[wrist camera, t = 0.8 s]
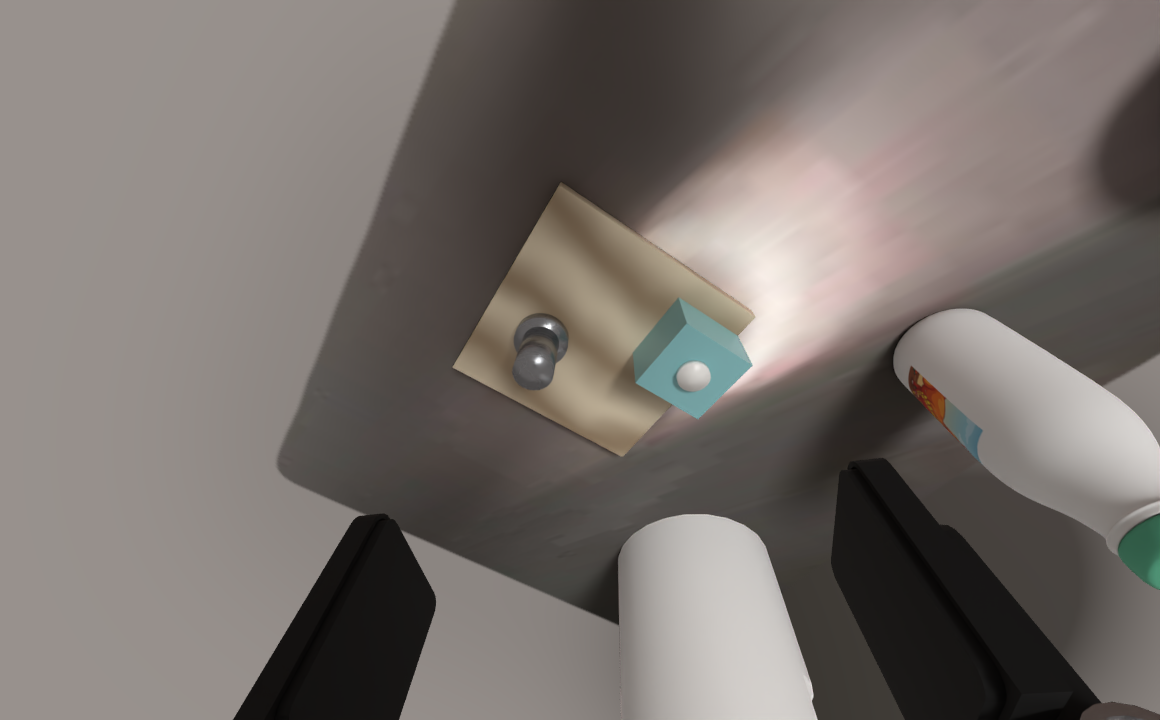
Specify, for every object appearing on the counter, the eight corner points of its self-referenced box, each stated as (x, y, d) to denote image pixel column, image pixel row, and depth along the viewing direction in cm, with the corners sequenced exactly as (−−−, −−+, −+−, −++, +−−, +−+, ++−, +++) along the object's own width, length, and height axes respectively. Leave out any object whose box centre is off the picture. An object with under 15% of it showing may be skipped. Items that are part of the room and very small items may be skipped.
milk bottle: (893, 315, 37) (1140, 520, 20) (1002, 296, 35) (1368, 497, 18) (885, 393, 41) (1086, 621, 24) (983, 378, 39) (1272, 607, 22)
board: (560, 181, 33) (559, 185, 32) (751, 310, 37) (755, 317, 36) (456, 360, 41) (452, 367, 40) (622, 448, 45) (622, 457, 44)
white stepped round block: (587, 555, 54) (570, 928, 30) (713, 490, 48) (817, 901, 24) (674, 622, 61) (716, 975, 37) (796, 573, 54) (944, 964, 30)
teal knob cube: (678, 297, 36) (688, 326, 31) (737, 335, 37) (754, 369, 33) (632, 352, 38) (635, 386, 34) (689, 386, 40) (699, 423, 36)
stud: (532, 303, 37) (520, 336, 32) (579, 330, 38) (574, 366, 33) (506, 343, 39) (492, 379, 34) (551, 368, 40) (543, 407, 35)
